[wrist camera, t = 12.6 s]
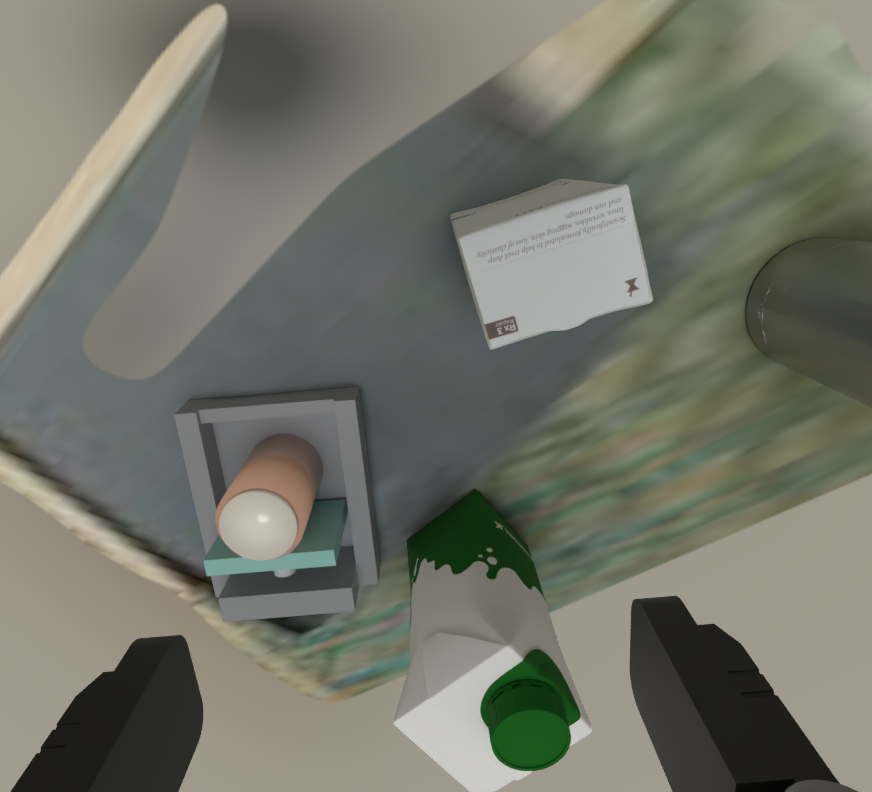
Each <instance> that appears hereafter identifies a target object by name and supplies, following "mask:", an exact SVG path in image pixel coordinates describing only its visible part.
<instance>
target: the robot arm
mask: <svg viewBox="0 0 872 792" xmlns="http://www.w3.org/2000/svg"><path fill="white" fill-rule="evenodd" d="M746 321H747V326H748V330H749V334H750V336H751V338H752V340H753V342H754V343H755V345H756V346H757V347H758V348H759V349H760V351H761V352H762V353H763V354H765V355H766V356H768V357H769V358H771V359H772V360H774V361H776V362H778V363H780V364H782V365H784V366H786V367H789V368H791V369H793V370H795V371H797V372H799V373H801V374H803V375H805V376H807V377H809V378H811V379H813V380H815V381H817V382H819V383H821V384H823V385H826V386H828V387H830V388H832V389H834V390H836V391H838V392H840V393H842V394H844V395H846V396H849V397H851V398H853V399H855V400H857V401H859V402H861V403H863V404H865V405H867V406H869V407H872V242H864V241H856V240H847V239H838V238H829V237H822V238H811V239H807V240H804V241H800V242H797V243H795V244H793V245H791V246H789V247H788V248H786V249H784V250H783V251H781V252H780V253H779V254H777V255H776V256H775V257H773V258H772V259H771V260H770V261H769V263H768V264H767V265H766V266H765V267H764V268H763V269H762V271H761V272H760V274H759V275H758V277H757V278H756V280H755V281H754V284H753V286H752V289H751V291H750V294H749V297H748V302H747V308H746ZM630 677H631V684H632V690H633V694H634V698H635V701H636V705H637V707H638V710H639V712H640V715H641V717H642V719H643V722H644V724H645V727H646V728H647V731H648V734H649V736H650V739H651V741H652V743H653V746H654V748H655V750H656V753H657V755H658V757H659V760H660V762H661V765H662V767H663V770H664V772H665V774H666V777H667V779H668V782H669V784H670V786H671V789H672V791H673V792H858V791H855V790H854V789H852V788H849V787H847V786H844V785H841V784H840V783H839V782H838V781H837V779H836V778H835V777H834V775H833V774H832V773H831V771H830V770H829V768H828V767H827V766H826V764H825V763H824V761H823V760H822V758H821V757H820V755H819V754H818V753H817V751H816V750H815V748H814V747H813V745H812V744H811V743H810V741H809V740H808V738H807V737H806V736H805V734H804V733H803V731H802V730H801V728H800V727H799V726H798V724H797V723H796V721H795V720H794V718H793V717H792V716H791V714H790V713H789V711H788V710H787V709H786V707H785V706H784V704H783V703H782V702H781V700H780V699H779V697H778V696H775V695H774V692H773V689H772V687H771V686H770V684H769V683H768V682H767V680H766V679H765V677H764V676H763V675H762V674H760V673H759V669H758V667H757V666H756V665H755V663H754V662H753V660H752V659H751V658H750V656H749V655H748V653H747V652H746V650H745V649H744V647H743V646H742V645H741V644H740V643H739V642H738V641H736V640H735V639H734V638H732V637H731V636H730V635H728V634H727V633H725V632H724V631H723V630H722V629H720V628H719V627H718V626H716V625H715V624H706V625H697V624H696V622H695V621H694V619H693V618H692V616H691V614H690V613H689V611H688V610H687V608H686V607H685V605H684V604H683V602H682V601H681V599H680V598H679V597H677V596H668V597H656V598H645V599H635V600H633V603H632V608H631V640H630ZM202 724H203V704H202V698H201V695H200V691H199V687H198V683H197V679H196V676H195V671H194V667H193V663H192V660H191V656H190V652H189V648H188V644H187V642H186V640H185V638H184V637H183V636H181V635H175V636H164V637H151V638H140V639H137V640H135V641H134V642H133V643H132V644H131V646H130V647H129V649H128V650H127V652H126V654H125V655H124V657H123V658H122V660H121V661H120V663H119V664H118V666H117V667H116V669H115V671H112V672H103V673H102V674H101V675H100V676H99V677H98V678H96V679H95V680H94V681H93V682H92V683H91V684H89V685H88V686H87V687H86V688H85V689H84V690H83V691H82V692H81V693H79V694H78V695H77V696H76V697H75V699H74V700H73V701H72V703H71V704H70V706H69V707H68V709H67V710H66V712H65V713H64V714H63V716H62V717H61V719H60V720H59V722H58V723H57V728H56V730H52V732H51V734H50V735H49V736H48V738H47V739H46V741H45V742H44V744H43V745H42V747H41V752H40V753H37V754H36V755H35V757H34V758H33V760H32V761H31V763H30V764H29V766H28V767H27V768H26V770H25V771H24V773H23V774H22V776H21V777H20V779H19V780H18V782H17V783H16V785H15V786H14V787H13V789H12V791H11V792H178V791H179V788H180V786H181V784H182V781H183V779H184V776H185V774H186V771H187V769H188V766H189V764H190V761H191V759H192V757H193V754H194V752H195V749H196V747H197V744H198V742H199V739H200V735H201V730H202Z"/></svg>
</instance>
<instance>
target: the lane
mask: <svg viewBox="0 0 872 792" xmlns="http://www.w3.org/2000/svg"><path fill="white" fill-rule="evenodd" d="M174 417H175V421H176V425H177V430H178V434H179V439H180V443H181V447H182V452H183V456H184V460H185V465H186V469H187V473H188V478H189V482H190V487H191V491H192V495H193V500H194V504H195V508H196V513H197V517H198V521H199V526H200V530H201V535H202V539H203V543H204V548H205V552H206V555H207V554H208V552H209V550H210V548H211V547H212V545H213V543H214V541H215V540H216V538H217V536H218V535H219V533H218V531H217V527H216V522H215V516H216V510H217V507H218V505H219V503H220V501H221V499H222V498H223V496H224V495H225V493H226V492H227V490H228V488H229V487H230V485H231V484H232V482H233V481H234V479H235V477H236V476H237V474H238V473H239V471H240V470H241V468H242V466H243V465H244V463H245V462H246V460H247V459H248V457H249V455H250V454H251V452H252V451H253V449H254V448H255V446H256V445H257V444H258V443H259V442H261V441H262V440H263V439H265V438H267V437H269V436H272V435H276V434H291V435H295V436H298V437H301V438H303V439H305V440H306V441H308V442H309V443H310V444H312V445H313V446H314V447H315V449H316V450H317V451H318V453H319V455H320V457H321V459H322V463H323V476H322V480H321V483H320V486H319V489H318V492H317V495H316V498H315V501H327V500H339V499H346V504H347V511H348V514H347V518H346V523H345V527H344V532H343V537H342V541H341V546H340V550H339V555H338V559H337V564H336V566H325V567H313V568H301V569H296V571H295V573H293V574H292V575H290V576H288V577H276V576H275V575H274V571H264V572H251V573H239V574H227V575H215V576H211V578H212V583H213V587H214V591H215V596H216V597H219V598H218V600H219V604H220V609H221V613H222V617H223V622H228V621H240V620H252V619H264V618H276V617H289V616H301V615H313V614H325V613H338V612H350V611H355V608H356V601H357V594H358V588H359V585H372V584H378V582H379V573H380V563H381V560H380V552H379V544H378V536H377V528H376V520H375V511H374V503H373V495H372V487H371V479H370V471H369V463H368V455H367V447H366V438H365V430H364V422H363V414H362V406H361V398H360V390H359V386H358V387H346V388H334V389H321V390H309V391H297V392H284V393H272V394H260V395H248V396H235V397H223V398H211V399H198V400H189V401H188V402H187V403H186V404H185V405H184V406H183V407H182V408H180V409H179V410H178V411H177V412H176V413H175V414H174ZM315 501H314V502H315Z"/></svg>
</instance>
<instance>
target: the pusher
mask: <svg viewBox="0 0 872 792" xmlns="http://www.w3.org/2000/svg"><path fill="white" fill-rule="evenodd" d="M347 514H348V511H347V504H346V499H339V500H327V501H315V502H314V504H313V507H312V510H311V513H310V516H309V519H308V522H307V525H306V528H305V531H304V534H303V536H302V539H301V541H300V542H299V544H298V545H297V547H296V548H295V549H294V550H293V551H291V552H290V553H288V554H287V555H285V556H283V557H280V558H278V559H274V560H266V561H258V560H251V559H247V558H244V557H242V556H240V555H238V554H236V553H235V552H234V551H232V550H231V549H230V548H229V547H228V546H227V545H226V544H225V543H224V542H223V540H222V539H221V537H220V535H218V536H217V538H216V540H215V541H214V543H213V545H212V547H211V548H210V550H209V552H208V554H207V555H206V557H205V559H204V560H203V561H204V565H205V570H206V574H207V576H215V575H227V574H239V573H251V572H264V571H274V575H275V576H276V577H288V576H290V575H292V574H293V573H295V571H296V569H301V568H313V567H325V566H336V564H337V559H338V555H339V550H340V546H341V541H342V537H343V532H344V527H345V523H346V518H347Z"/></svg>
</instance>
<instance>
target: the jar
mask: <svg viewBox="0 0 872 792" xmlns="http://www.w3.org/2000/svg"><path fill="white" fill-rule="evenodd" d="M322 476H323V463H322V459H321V457H320V455H319V453H318V451H317V450H316V449H315V447H314V446H313V445H312V444H310V443H309V442H308V441H306V440H305V439H303V438H301V437H298V436H295V435H291V434H276V435H272V436H269V437H267V438H265V439H263V440H262V441H261V442H259V443H258V444H257V445H256V446H255V448H254V449H253V451H252V452H251V454H250V455H249V457H248V459H247V460H246V462H245V463H244V465H243V466H242V468H241V470H240V471H239V473H238V474H237V476H236V477H235V479H234V481H233V482H232V484H231V485H230V487H229V488H228V490H227V492H226V493H225V495H224V496H223V498H222V499H221V501H220V503H219V505H218V507H217V510H216V516H215V522H216V527H217V531H218V533H219V535H220V537H221V539H222V540H223V542H224V543H225V544H226V545H227V546H228V547H229V548H230V549H231V550H232V551H234V552H235V553H236V554H238V555H240V556H242V557H244V558H247V559H251V560H258V561H266V560H274V559H278V558H280V557H283V556H285V555H287V554H288V553H290V552H291V551H293V550H294V549H295V548H296V547H297V545H298V544H299V542H300V541H301V539H302V536H303V534H304V531H305V528H306V525H307V522H308V519H309V516H310V513H311V510H312V507H313V504H314V501H315V498H316V495H317V492H318V489H319V486H320V483H321V480H322Z"/></svg>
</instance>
